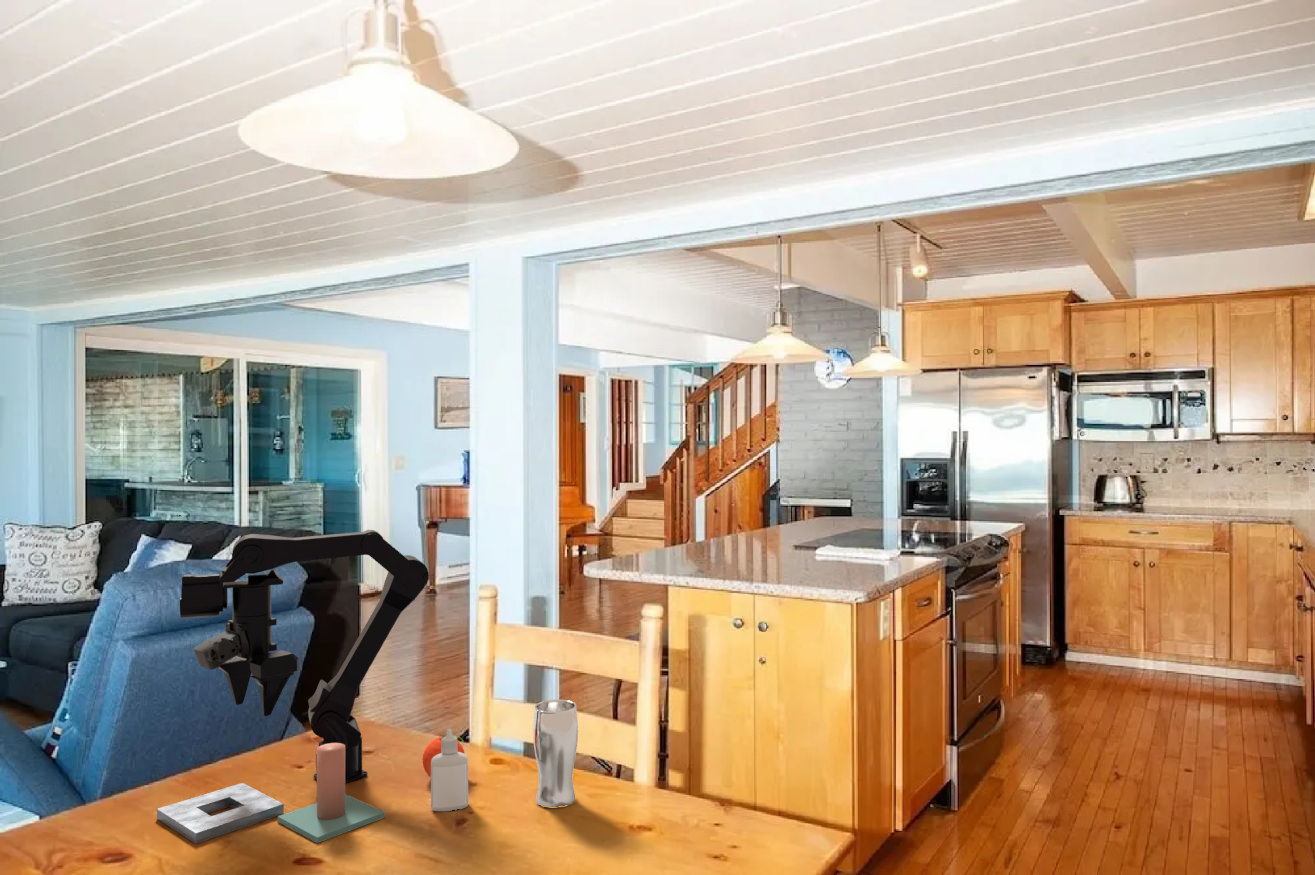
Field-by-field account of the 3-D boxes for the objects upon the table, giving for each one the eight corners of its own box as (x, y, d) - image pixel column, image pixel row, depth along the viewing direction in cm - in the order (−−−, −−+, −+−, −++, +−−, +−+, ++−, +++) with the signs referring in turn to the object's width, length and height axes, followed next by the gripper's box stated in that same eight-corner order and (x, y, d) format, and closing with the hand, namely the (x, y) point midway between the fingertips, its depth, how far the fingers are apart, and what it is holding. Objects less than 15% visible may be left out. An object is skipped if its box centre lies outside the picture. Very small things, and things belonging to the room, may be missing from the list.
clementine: (450, 766, 158) (450, 725, 158) (478, 775, 154) (478, 733, 154) (413, 781, 152) (413, 738, 152) (441, 790, 148) (441, 746, 148)
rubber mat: (344, 798, 145) (344, 793, 145) (384, 817, 138) (384, 812, 138) (277, 821, 136) (277, 816, 136) (317, 843, 129) (317, 837, 129)
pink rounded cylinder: (335, 806, 140) (335, 741, 139) (350, 813, 137) (350, 747, 137) (311, 815, 137) (311, 748, 136) (326, 822, 134) (326, 754, 134)
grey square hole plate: (242, 792, 147) (242, 782, 147) (283, 813, 139) (283, 804, 139) (156, 819, 137) (156, 809, 137) (195, 844, 129) (195, 833, 129)
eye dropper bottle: (459, 815, 138) (459, 736, 138) (426, 811, 140) (425, 732, 140) (472, 803, 143) (472, 726, 143) (440, 799, 144) (439, 723, 144)
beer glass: (525, 806, 142) (524, 709, 141) (547, 789, 148) (546, 697, 148) (565, 813, 139) (564, 714, 139) (585, 796, 145) (585, 702, 145)
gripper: (174, 614, 148) (175, 710, 148) (229, 630, 136) (230, 735, 136) (243, 603, 156) (243, 695, 156) (300, 618, 144) (300, 716, 144)
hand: (252, 709), depth 148 cm, fingers open, 9 cm apart
